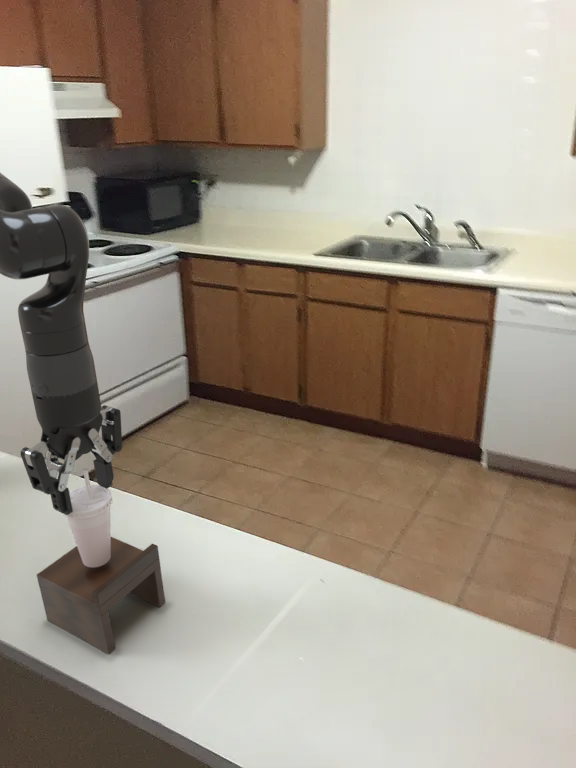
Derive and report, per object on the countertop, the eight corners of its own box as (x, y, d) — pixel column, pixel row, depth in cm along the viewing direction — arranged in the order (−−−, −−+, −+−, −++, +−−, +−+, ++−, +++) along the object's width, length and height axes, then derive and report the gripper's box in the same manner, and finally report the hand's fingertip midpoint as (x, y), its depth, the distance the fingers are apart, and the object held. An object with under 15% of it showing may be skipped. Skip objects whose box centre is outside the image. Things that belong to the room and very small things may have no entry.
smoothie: (109, 576, 87) (93, 485, 81) (63, 571, 88) (45, 481, 82) (128, 545, 92) (115, 458, 87) (85, 541, 94) (69, 454, 88)
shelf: (47, 620, 93) (33, 562, 88) (105, 573, 101) (95, 519, 97) (108, 654, 87) (97, 594, 83) (165, 602, 95) (157, 545, 91)
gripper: (87, 354, 86) (106, 465, 93) (-10, 396, 75) (20, 519, 82) (130, 365, 83) (145, 479, 90) (34, 411, 72) (61, 538, 79)
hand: (85, 498), depth 86 cm, fingers closed on smoothie, 6 cm apart
